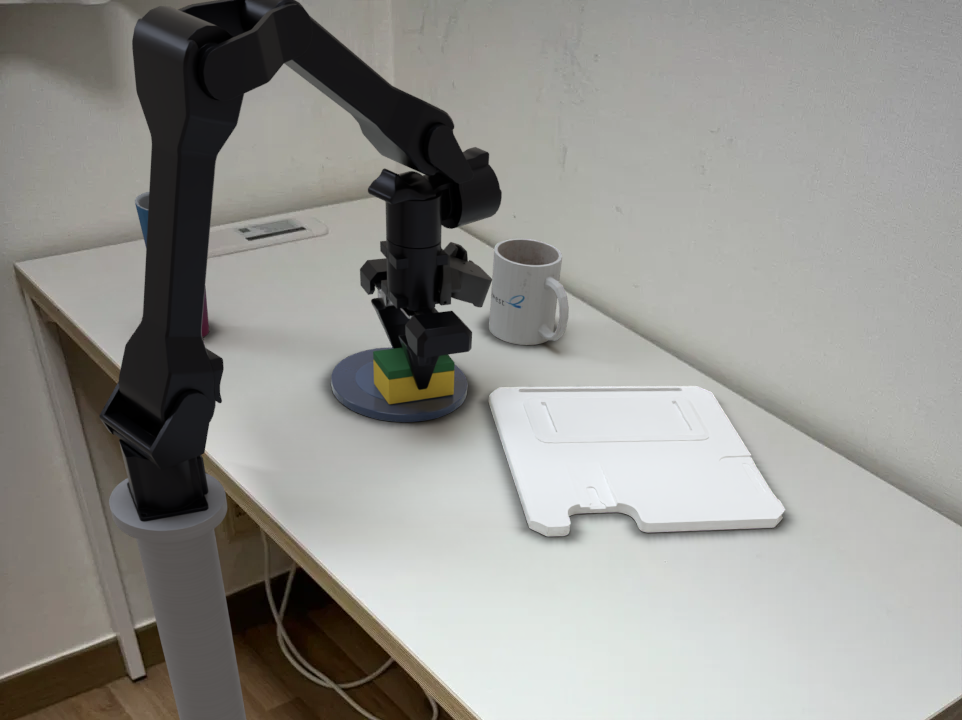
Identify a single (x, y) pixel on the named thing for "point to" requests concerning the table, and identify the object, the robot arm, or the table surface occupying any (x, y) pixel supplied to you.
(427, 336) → the robot arm
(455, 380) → the plate
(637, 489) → the tray
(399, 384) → the sponge
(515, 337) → the mug
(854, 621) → the table surface
